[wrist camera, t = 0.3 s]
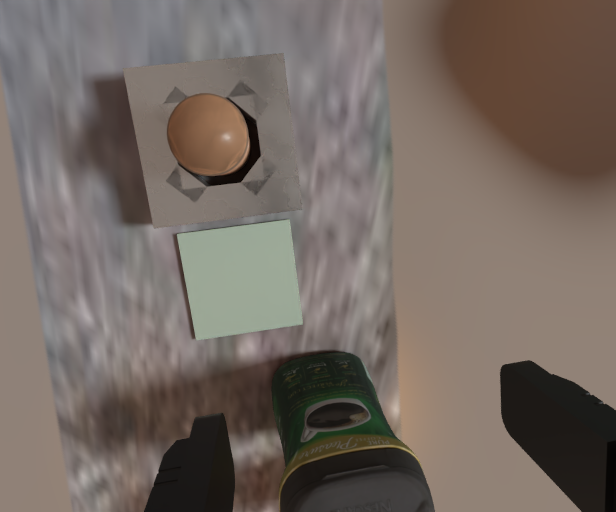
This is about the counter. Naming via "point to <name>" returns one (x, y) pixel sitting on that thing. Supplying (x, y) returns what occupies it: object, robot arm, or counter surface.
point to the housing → (251, 103)
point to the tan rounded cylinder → (208, 135)
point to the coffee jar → (341, 442)
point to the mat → (241, 278)
